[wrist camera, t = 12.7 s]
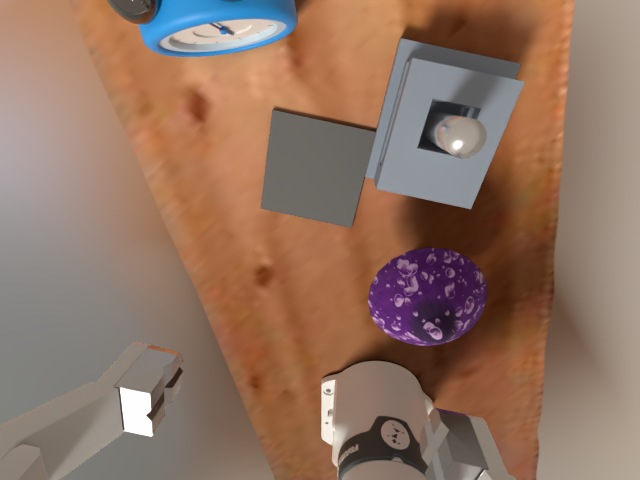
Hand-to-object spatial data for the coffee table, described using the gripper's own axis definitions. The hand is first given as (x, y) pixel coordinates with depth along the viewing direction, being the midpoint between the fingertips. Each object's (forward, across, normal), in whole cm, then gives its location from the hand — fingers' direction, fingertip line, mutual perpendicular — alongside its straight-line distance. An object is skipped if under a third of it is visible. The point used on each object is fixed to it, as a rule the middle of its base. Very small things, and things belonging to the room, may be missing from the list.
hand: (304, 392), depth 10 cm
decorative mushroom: (+31, -12, +9) cm, 35 cm away
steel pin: (+30, -9, -8) cm, 32 cm away
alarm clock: (+31, +14, -14) cm, 37 cm away
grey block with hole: (+31, -9, -8) cm, 33 cm away
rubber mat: (+31, +3, 0) cm, 31 cm away
